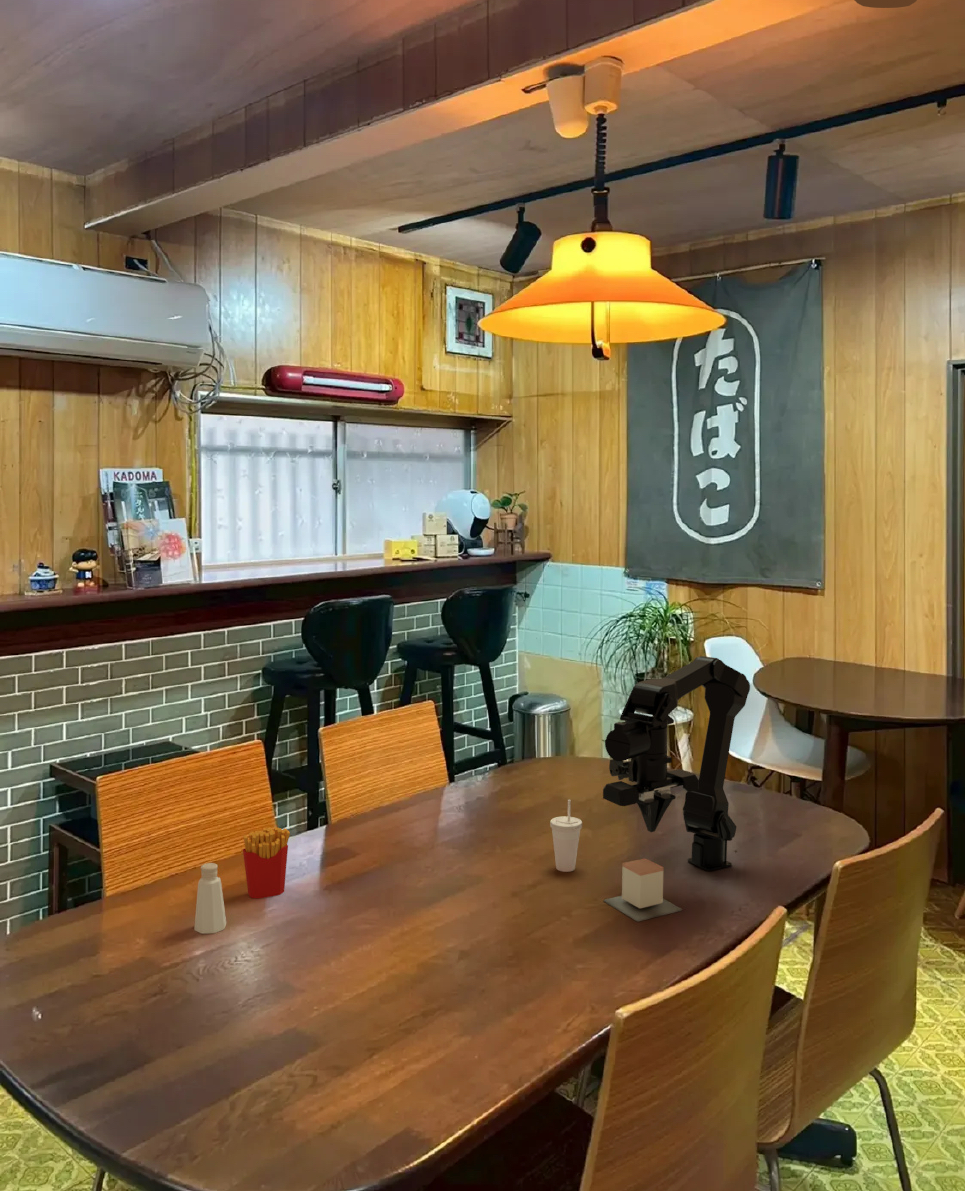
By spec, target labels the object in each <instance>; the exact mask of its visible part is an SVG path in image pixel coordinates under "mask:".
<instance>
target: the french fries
mask: <svg viewBox="0 0 965 1191" xmlns="http://www.w3.org/2000/svg"><path fill="white" fill-rule="evenodd" d="M290 835H291V833H290V831H289V830H287V828H283V829H282V828H279V826H277V827H274V828H272V827H271V826H270V827H269V826H268V827H263V828H262V830H255V831H249V832H248V835H247V834H246V835H243V842H244V843H243V844H244V848H242V853H243V855H242V856H243V861H244V862H243V863H244V870H245V877H246V886H247V894H249V895H248V896H249V897H250V899H265V898H271V897H276V896H279V895H282V894H283V893H285V885H286V875H287V863H288V862H287V861H288V859H287V858H288V851H289V845H288V843H289V838H290ZM264 897H265V898H264Z"/></svg>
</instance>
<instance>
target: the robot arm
mask: <svg viewBox="0 0 965 1191" xmlns="http://www.w3.org/2000/svg"><path fill="white" fill-rule="evenodd" d="M699 687H703V689H704V700H705V701H704V702H705V703H706V706H707V708H708V709H707V710H709V717H708V723H707V730H706V735H705V739H704V740H705V741H704V746H703V752H702V757H701V764H700V770H699V774H698V775H699V777H697V775H696V774H695V773H692V772H689V771H686V770H685V769H681V768H678V769H673V770H669V771H668V764H670V763H673V757H672V756H669V755H668V726H669V725H672V724H674V723H675V720H674V719H673V717H672V716H670V714H671V713H672V712H673V711H674V710H675V709H676V708H677V707H678V704H679V700H680V699H681V698H682V697H684V696H686V695H688V694H689V693H690V694H691V692H693V691H695V690H696V689H698V688H699ZM750 690H751V684H750V681H749V680H748V678H747V676H746V674H744V673H741V672H740V671H738V670H736V669H735V668H733V667H731V666H729V665H727V664H726V663H724V661H722V660H721V659H719V658H717V657H712V656H704V655H701V656H697V657H695V658H694V659H693V661H691V662H690V663H687V664H685V665H684V666H683V667H680V668H678V669H676V670H675V671H673V672H672V673H669V674H667V675H666V676H664V677H661V678H652V679H651V678H650V679H647V680H646V679H645V680H642V681H638V682H637V683H635V684H634V686H633V687H632V689H631V691H630V693H629V696H628V697H627V701H626V702H625V705H624V707H623V710H622V712H621V714H620V717H619V719H620V721H617V722H615V723H614V724H613V730H610V731H609V732H608V733H607V735H606V738H605V739H604V747H605V751H606V752H607V755H608V756H609V757H610V758H611V759H609V767H608V769H609V774H610V776H611V777H617V780H618V781H613V782H609V783H606V784H605V785H604V786H603V789H602V799H604V800H606V801H608V802H611V803H612V804H615V805H617V806H619V807H627V806H631V805H636V804H637V806H638V809H639V810H640V812H641V816H642V818H643V821H644V824H645V827H646V829H647V831H648V832H649V833H655V832H656V830H657V829H658V826H659V824H660V822H661V820H662V818H663V816H664V814H666V811H667V809H668V808H669V806H670V804H671V803H672V801H673V800H676V795H674V794H672V790H671V789H673V788H677V787H682V788H683V790H684V791H685V792H686V793H685V797H684V799H685V800H684V804H683V807H682V815H683V817H682V818H683V821H684V826H685V829H686V830H685V831H686V832H687V833H692V834H693V839H692V840H693V842H691V857H689V858H687V862H688V863H690V864H692V865H694V866H697V867H698V868H700V869H703V870H705V871H706V872H707V871H708V872H710V871H711V872H712V871H715V870H719V869H724V868H729V867H732V866H733V863H732V862H730V861H728V860H727V859H728V858H727V857H728V855H727V854H728V841H729V842H731V841H733V838H735V836H736V831H737V825H736V824H735V822H734V821H733V820H732V818H731V817H730V815H729V805H730V804H729V800H728V798H727V795H726V793H725V790H724V784H725V777H726V772H727V768H728V767H727V765H728V761H729V760H728V759H729V754H730V747H731V742H732V736H733V731H734V730H733V729H734V724H735V719H736V717H737V715H738V714H739V713H740V712H741V711H742V710H743V708H744V707H745V706H746V704H747V700H748V695H749V694H750ZM627 760H630V761H627ZM624 779H628V781H629V782H632V783H635V784H631V783H626V782H625V781H622V780H624Z"/></svg>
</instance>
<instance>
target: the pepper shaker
mask: <svg viewBox="0 0 965 1191" xmlns="http://www.w3.org/2000/svg"><path fill="white" fill-rule="evenodd" d="M200 873H201V874H200V875H201V877H200V878H199V880H198V882H197V891H196V892H197V893H196V906H195V907H196V908H195V919H194V927H193V928H194V929H193V930H194V931H195V932H197V933H199V934H201V935H207V934H208V935H209V934H216V933H218V932H222V931H223V930H225V928H226V925H227V918H226V917H227V916H226V911H225V910H226V909H225V903H224V894H223V885H222V880H221V877H218V864H216V863H214V862H208V863H203V864H202V865H201V866H200Z"/></svg>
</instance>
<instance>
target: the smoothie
mask: <svg viewBox="0 0 965 1191" xmlns="http://www.w3.org/2000/svg"><path fill="white" fill-rule="evenodd" d="M571 801H572V800H571V799H567V816H565V815H564V816H556V817H553V818H552V819H551V820H550V821H549V822H550V824H549V826H550V828H551V832H552V833H551V834H552V841H553V842H552V843H553V850H554V852H553V853H554V859H555V868H556V870H558V871H560V872H564V873H565V872H566V873H567V872H568V873H569V872H573V871H575V870H576V863H577V854H578V850H579V842H580V841H579V840H580V834H581V829H582V828H583V821H582V820H581V819H580V818H577V817H573V816H571V806H572V805H571V804H572V802H571Z"/></svg>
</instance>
